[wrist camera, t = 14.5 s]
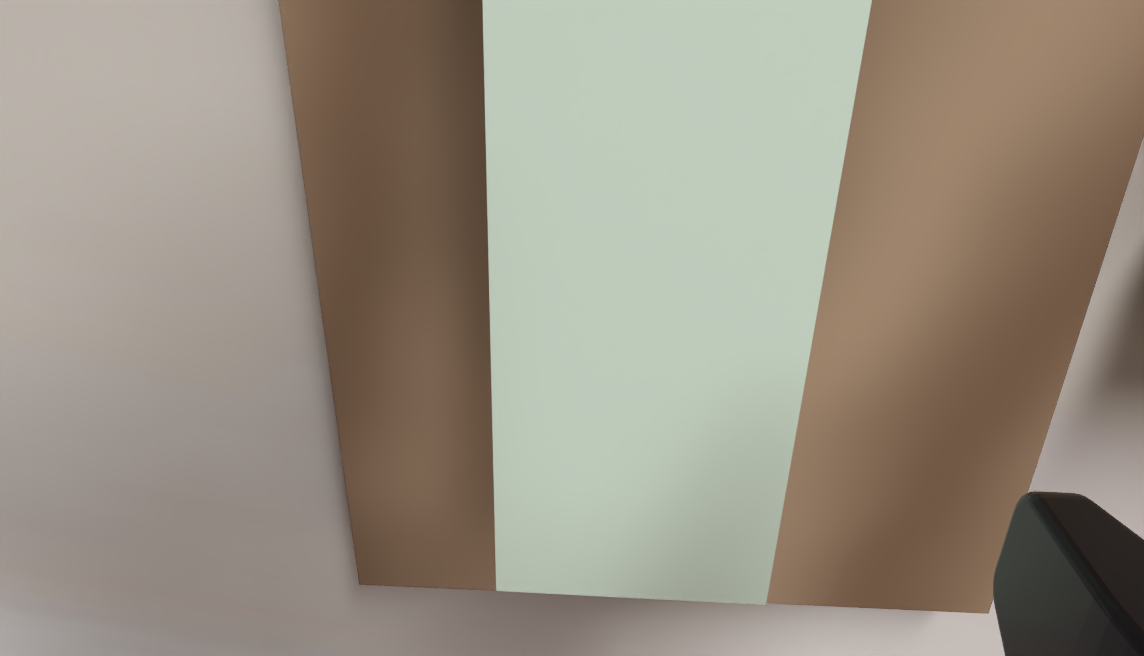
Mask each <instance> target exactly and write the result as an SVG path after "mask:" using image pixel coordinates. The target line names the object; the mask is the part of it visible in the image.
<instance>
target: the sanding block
mask: <svg viewBox="0 0 1144 656" xmlns="http://www.w3.org/2000/svg"><path fill="white" fill-rule="evenodd" d="M482 2H483V45H484V88H485V131H486V174H487V217H488V260H489V303H490V346H491V389H492V432H493V475H494V518H495V561H496V591H507V592H526V593H545V594H564V595H583V596H602V597H621V598H640V599H660V600H679V601H698V602H717V603H736V604H755V605H766V602H767V596H768V590H769V585H770V579H771V573H772V568H773V562H774V556H775V550H776V545H777V539H778V533H779V528H780V522H781V516H782V511H783V505H784V499H785V493H786V488H787V482H788V476H789V471H790V465H791V459H792V454H793V448H794V442H795V436H796V431H797V425H798V419H799V414H800V408H801V402H802V396H803V391H804V385H805V379H806V374H807V368H808V362H809V357H810V351H811V345H812V339H813V334H814V328H815V322H816V317H817V311H818V305H819V300H820V294H821V288H822V282H823V277H824V271H825V265H826V260H827V254H828V248H829V242H830V237H831V231H832V225H833V220H834V214H835V208H836V203H837V197H838V191H839V185H840V180H841V174H842V168H843V163H844V157H845V151H846V146H847V140H848V134H849V128H850V123H851V117H852V111H853V106H854V100H855V94H856V88H857V83H858V77H859V71H860V66H861V60H862V54H863V49H864V43H865V37H866V31H867V26H868V20H869V14H870V9H871V3H872V0H482Z"/></svg>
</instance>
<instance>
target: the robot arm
mask: <svg viewBox="0 0 1144 656" xmlns="http://www.w3.org/2000/svg"><path fill="white" fill-rule="evenodd" d="M993 596H994V604H995V609H996V614H997V619H998V624H999V628H1000V633H1001V638H1002V643H1003V648H1004V652H1005V656H1144V540H1143V539H1142V538H1141V537H1139V536H1138V535H1137V534H1135V533H1134V532H1133V531H1131V530H1130V529H1129V528H1127V527H1126V526H1125V525H1123V524H1122V523H1121V522H1119V521H1118V520H1117V519H1115V518H1114V517H1113V516H1111V515H1110V514H1109V513H1107V512H1106V511H1105V510H1103V509H1102V508H1101V507H1100V506H1098V505H1097V504H1096V503H1094V502H1093V501H1091V500H1090V499H1088V498H1087V497H1085V496H1083V495H1080V494H1075V493H1057V492H1029V493H1027V494H1025V495H1023V496H1022V497H1021V498H1020V499H1019V501H1018V502H1017V504H1016V506H1015V509H1014V512H1013V515H1012V518H1011V521H1010V524H1009V527H1008V531H1007V534H1006V537H1005V540H1004V543H1003V546H1002V549H1001V553H1000V556H999V559H998V562H997V565H996V569H995V573H994V580H993Z"/></svg>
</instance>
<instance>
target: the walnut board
mask: <svg viewBox="0 0 1144 656" xmlns="http://www.w3.org/2000/svg"><path fill="white" fill-rule="evenodd" d="M279 6H280V13H281V20H282V27H283V35H284V42H285V49H286V56H287V64H288V71H289V78H290V85H291V93H292V100H293V107H294V114H295V122H296V129H297V136H298V143H299V151H300V158H301V165H302V172H303V180H304V187H305V194H306V201H307V209H308V216H309V223H310V230H311V238H312V245H313V252H314V259H315V266H316V274H317V281H318V288H319V295H320V303H321V310H322V317H323V324H324V332H325V339H326V346H327V353H328V361H329V368H330V375H331V382H332V390H333V397H334V404H335V411H336V419H337V426H338V433H339V440H340V448H341V455H342V462H343V469H344V477H345V484H346V491H347V498H348V506H349V513H350V520H351V527H352V535H353V542H354V549H355V556H356V564H357V571H358V578H359V584H362V585H384V586H405V587H427V588H448V589H470V590H492V591H496V561H495V518H494V475H493V432H492V389H491V346H490V303H489V260H488V217H487V174H486V131H485V88H484V45H483V2H482V0H279ZM1143 136H1144V0H872V3H871V9H870V14H869V20H868V26H867V31H866V37H865V43H864V49H863V54H862V60H861V66H860V71H859V77H858V83H857V88H856V94H855V100H854V106H853V111H852V117H851V123H850V128H849V134H848V140H847V146H846V151H845V157H844V163H843V168H842V174H841V180H840V185H839V191H838V197H837V203H836V208H835V214H834V220H833V225H832V231H831V237H830V242H829V248H828V254H827V260H826V265H825V271H824V277H823V282H822V288H821V294H820V300H819V305H818V311H817V317H816V322H815V328H814V334H813V339H812V345H811V351H810V357H809V362H808V368H807V374H806V379H805V385H804V391H803V396H802V402H801V408H800V414H799V419H798V425H797V431H796V436H795V442H794V448H793V454H792V459H791V465H790V471H789V476H788V482H787V488H786V493H785V499H784V505H783V511H782V516H781V522H780V528H779V533H778V539H777V545H776V550H775V556H774V562H773V568H772V573H771V579H770V585H769V590H768V596H767V602H766V603H772V604H793V605H815V606H837V607H858V608H880V609H901V610H923V611H944V612H966V613H989V610H990V607H991V604H992V601H993V598H994V596H993V580H994V573H995V569H996V565H997V562H998V559H999V556H1000V553H1001V549H1002V546H1003V543H1004V540H1005V537H1006V534H1007V531H1008V527H1009V524H1010V521H1011V518H1012V515H1013V512H1014V509H1015V506H1016V504H1017V502H1018V501H1019V499H1020V498H1021V497H1022V496H1023V495H1025V494H1027V493H1028V490H1029V487H1030V484H1031V481H1032V478H1033V475H1034V472H1035V468H1036V465H1037V462H1038V459H1039V456H1040V453H1041V450H1042V447H1043V444H1044V441H1045V438H1046V435H1047V432H1048V428H1049V425H1050V422H1051V419H1052V416H1053V413H1054V410H1055V407H1056V404H1057V401H1058V398H1059V395H1060V392H1061V388H1062V385H1063V382H1064V379H1065V376H1066V373H1067V370H1068V367H1069V364H1070V361H1071V358H1072V355H1073V352H1074V348H1075V345H1076V342H1077V339H1078V336H1079V333H1080V330H1081V327H1082V324H1083V321H1084V318H1085V315H1086V312H1087V308H1088V305H1089V302H1090V299H1091V296H1092V293H1093V290H1094V287H1095V284H1096V281H1097V278H1098V275H1099V271H1100V268H1101V265H1102V262H1103V259H1104V256H1105V253H1106V250H1107V247H1108V244H1109V241H1110V238H1111V235H1112V231H1113V228H1114V225H1115V222H1116V219H1117V216H1118V213H1119V210H1120V207H1121V204H1122V201H1123V198H1124V195H1125V191H1126V188H1127V185H1128V182H1129V179H1130V176H1131V173H1132V170H1133V167H1134V164H1135V161H1136V158H1137V155H1138V151H1139V148H1140V145H1141V142H1142V139H1143Z"/></svg>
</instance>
